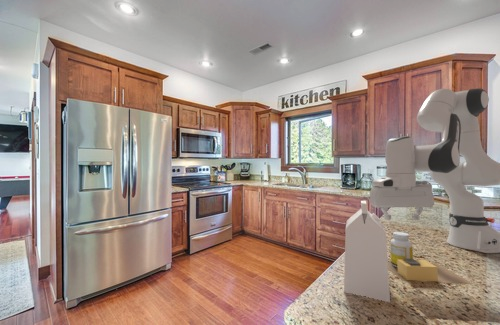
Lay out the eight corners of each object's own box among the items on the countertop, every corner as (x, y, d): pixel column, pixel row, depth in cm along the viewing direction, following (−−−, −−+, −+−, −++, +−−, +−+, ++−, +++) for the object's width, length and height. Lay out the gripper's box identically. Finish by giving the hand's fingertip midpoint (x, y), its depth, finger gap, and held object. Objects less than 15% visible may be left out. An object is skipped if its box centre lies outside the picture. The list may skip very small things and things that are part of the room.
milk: (345, 274, 74) (344, 198, 75) (384, 281, 69) (382, 200, 70) (344, 292, 64) (342, 203, 64) (390, 302, 59) (387, 206, 59)
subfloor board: (437, 266, 79) (437, 263, 79) (472, 287, 65) (472, 283, 65) (380, 264, 81) (380, 261, 81) (402, 284, 67) (402, 280, 67)
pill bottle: (409, 263, 79) (408, 231, 80) (416, 271, 73) (415, 237, 73) (388, 261, 81) (388, 230, 82) (393, 268, 75) (393, 235, 76)
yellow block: (426, 273, 72) (425, 258, 72) (437, 281, 67) (437, 265, 67) (397, 272, 73) (397, 257, 73) (406, 280, 68) (406, 264, 68)
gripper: (425, 180, 80) (426, 217, 80) (367, 180, 82) (368, 217, 82) (438, 181, 74) (439, 221, 74) (375, 182, 76) (376, 221, 76)
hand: (401, 219), depth 78 cm, fingers open, 8 cm apart
